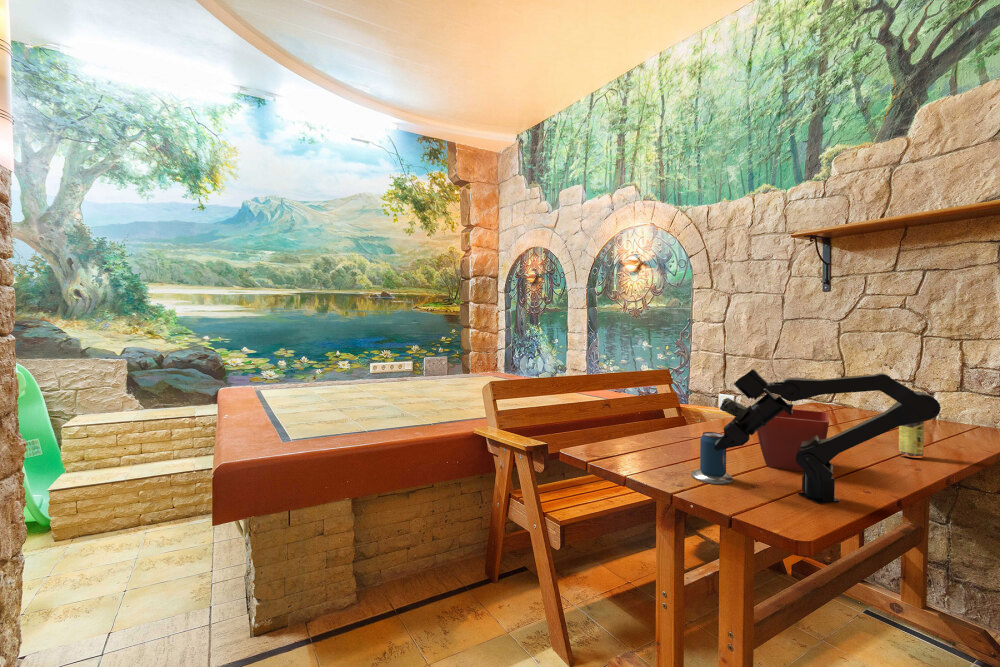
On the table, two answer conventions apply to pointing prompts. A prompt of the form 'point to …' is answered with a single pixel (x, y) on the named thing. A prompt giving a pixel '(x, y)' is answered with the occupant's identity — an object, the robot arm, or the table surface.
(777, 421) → the plant pot
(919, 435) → the sauce bottle
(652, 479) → the table surface
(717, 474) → the soda can
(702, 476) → the silver metal disc
